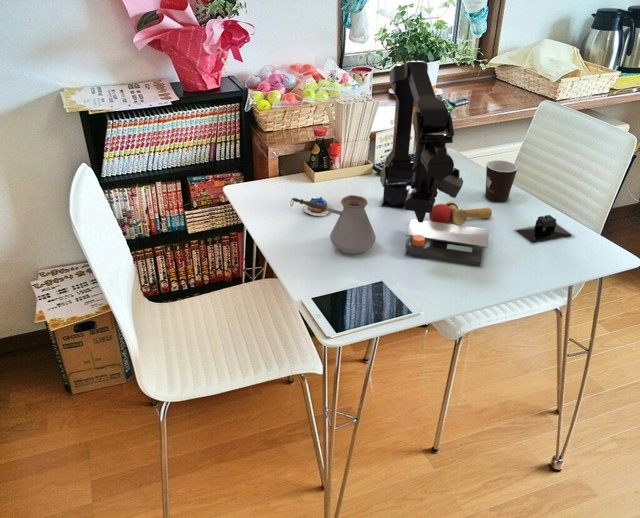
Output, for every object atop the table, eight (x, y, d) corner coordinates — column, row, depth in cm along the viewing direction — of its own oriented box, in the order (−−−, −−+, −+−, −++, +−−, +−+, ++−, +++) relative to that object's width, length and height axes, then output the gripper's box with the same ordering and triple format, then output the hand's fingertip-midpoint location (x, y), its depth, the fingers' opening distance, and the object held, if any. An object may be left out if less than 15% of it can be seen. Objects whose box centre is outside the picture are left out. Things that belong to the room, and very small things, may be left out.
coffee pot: (368, 233, 156) (371, 181, 148) (380, 256, 146) (384, 201, 138) (288, 241, 152) (286, 187, 144) (295, 264, 143) (293, 209, 135)
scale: (403, 257, 146) (404, 246, 144) (412, 229, 158) (413, 219, 157) (479, 269, 142) (481, 258, 140) (483, 239, 154) (485, 229, 152)
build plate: (554, 224, 161) (558, 208, 159) (572, 236, 155) (576, 221, 153) (515, 230, 158) (519, 215, 155) (532, 244, 152) (536, 228, 149)
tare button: (411, 245, 145) (411, 239, 145) (413, 240, 148) (413, 233, 147) (423, 247, 145) (424, 241, 144) (425, 241, 147) (425, 235, 146)
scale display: (446, 249, 144) (446, 248, 143) (447, 244, 145) (447, 243, 145) (471, 252, 142) (471, 252, 142) (472, 248, 144) (472, 247, 144)
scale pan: (405, 235, 149) (405, 234, 149) (411, 219, 156) (411, 218, 156) (487, 247, 144) (487, 246, 144) (489, 230, 152) (489, 229, 151)
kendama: (477, 214, 168) (421, 215, 162) (485, 196, 164) (428, 196, 158) (490, 231, 163) (433, 232, 157) (499, 212, 159) (440, 213, 153)
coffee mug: (512, 205, 171) (518, 173, 165) (481, 202, 172) (487, 170, 167) (509, 188, 180) (515, 157, 175) (480, 186, 182) (485, 155, 176)
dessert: (326, 216, 162) (314, 198, 161) (307, 225, 166) (296, 207, 165) (336, 206, 169) (325, 188, 168) (318, 215, 172) (307, 198, 171)
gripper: (459, 181, 125) (450, 245, 134) (466, 150, 141) (458, 209, 149) (407, 175, 128) (401, 238, 136) (419, 145, 143) (414, 203, 151)
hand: (420, 221), depth 143 cm, fingers closed
